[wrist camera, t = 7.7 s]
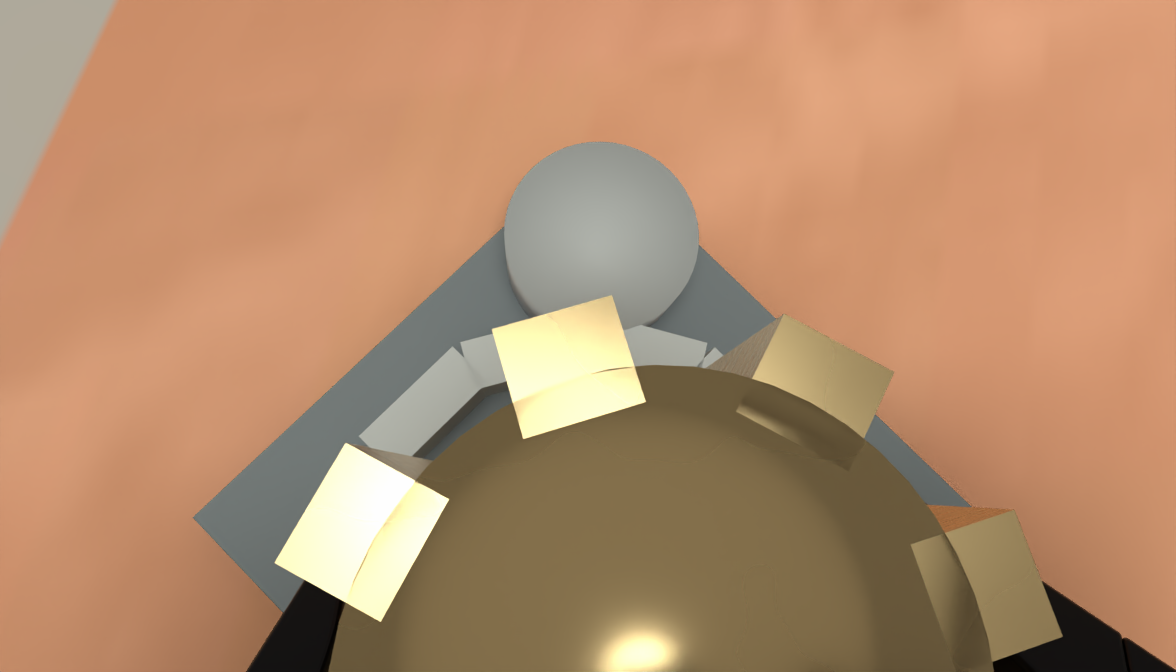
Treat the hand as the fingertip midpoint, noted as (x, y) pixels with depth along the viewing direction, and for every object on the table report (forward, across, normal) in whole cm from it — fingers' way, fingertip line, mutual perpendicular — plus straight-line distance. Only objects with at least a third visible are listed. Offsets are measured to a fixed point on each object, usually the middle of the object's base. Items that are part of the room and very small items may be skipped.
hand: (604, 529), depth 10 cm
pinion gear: (+4, 0, +6) cm, 7 cm away
